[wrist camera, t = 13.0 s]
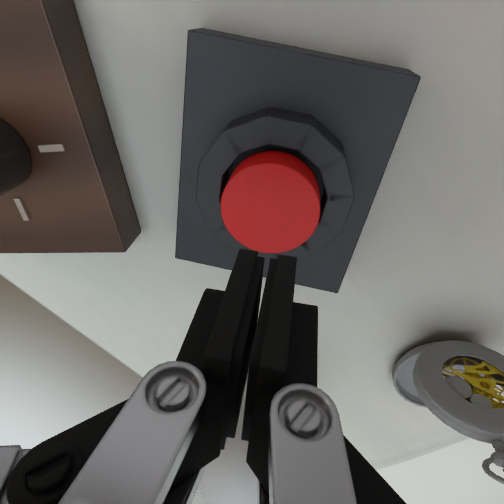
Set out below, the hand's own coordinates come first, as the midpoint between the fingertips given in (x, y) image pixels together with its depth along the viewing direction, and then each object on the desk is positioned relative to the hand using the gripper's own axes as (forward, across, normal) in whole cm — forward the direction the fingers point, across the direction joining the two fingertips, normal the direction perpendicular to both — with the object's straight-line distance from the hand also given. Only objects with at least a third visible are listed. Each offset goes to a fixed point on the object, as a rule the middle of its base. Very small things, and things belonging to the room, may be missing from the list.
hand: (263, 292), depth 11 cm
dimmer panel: (+11, +16, +1) cm, 19 cm away
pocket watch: (+12, -13, +13) cm, 22 cm away
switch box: (+11, +1, +1) cm, 11 cm away
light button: (+8, +1, +1) cm, 8 cm away
